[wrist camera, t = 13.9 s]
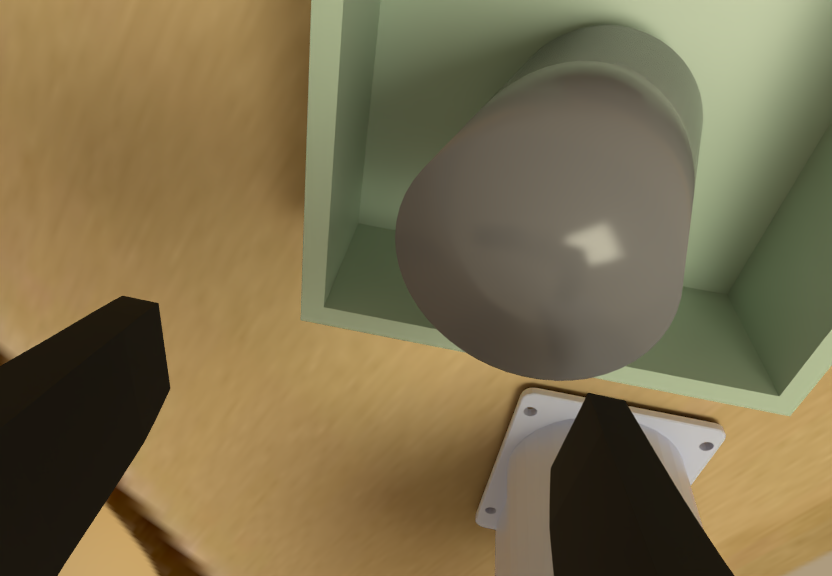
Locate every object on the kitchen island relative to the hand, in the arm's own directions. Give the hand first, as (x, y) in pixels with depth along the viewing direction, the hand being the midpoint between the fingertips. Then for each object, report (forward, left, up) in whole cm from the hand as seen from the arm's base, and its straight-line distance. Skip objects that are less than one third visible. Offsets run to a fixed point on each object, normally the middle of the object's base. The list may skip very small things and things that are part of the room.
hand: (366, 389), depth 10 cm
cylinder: (+2, -4, -8) cm, 10 cm away
